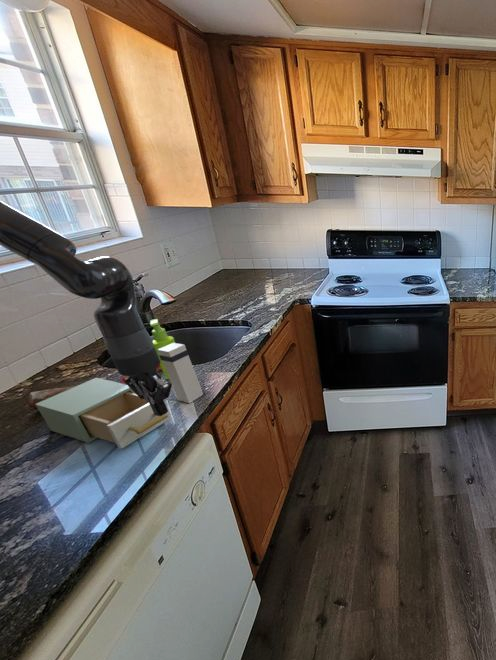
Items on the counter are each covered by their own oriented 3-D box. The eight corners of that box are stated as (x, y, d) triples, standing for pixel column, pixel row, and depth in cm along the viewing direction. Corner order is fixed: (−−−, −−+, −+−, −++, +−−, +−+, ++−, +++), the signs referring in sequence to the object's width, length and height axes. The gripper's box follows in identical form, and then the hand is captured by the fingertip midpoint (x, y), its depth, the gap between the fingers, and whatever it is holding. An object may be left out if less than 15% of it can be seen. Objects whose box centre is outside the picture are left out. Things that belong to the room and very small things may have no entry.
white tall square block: (189, 403, 107) (168, 352, 99) (177, 400, 108) (156, 349, 101) (204, 394, 111) (185, 344, 103) (192, 391, 112) (173, 342, 105)
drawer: (182, 421, 97) (173, 400, 95) (133, 452, 87) (121, 430, 84) (135, 408, 103) (126, 388, 100) (84, 436, 93) (71, 415, 90)
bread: (41, 405, 108) (31, 389, 106) (122, 387, 116) (114, 372, 113) (31, 416, 103) (21, 400, 100) (116, 397, 111) (108, 381, 108)
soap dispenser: (165, 383, 117) (141, 326, 109) (165, 374, 122) (142, 319, 114) (187, 377, 120) (165, 321, 112) (186, 368, 125) (165, 315, 117)
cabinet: (144, 411, 103) (132, 386, 100) (88, 443, 92) (72, 415, 88) (109, 402, 108) (96, 377, 105) (51, 430, 97) (34, 404, 93)
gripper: (170, 346, 81) (196, 409, 89) (130, 339, 85) (158, 400, 93) (134, 362, 75) (165, 428, 82) (93, 353, 79) (126, 418, 86)
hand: (161, 413), depth 88 cm, fingers closed
